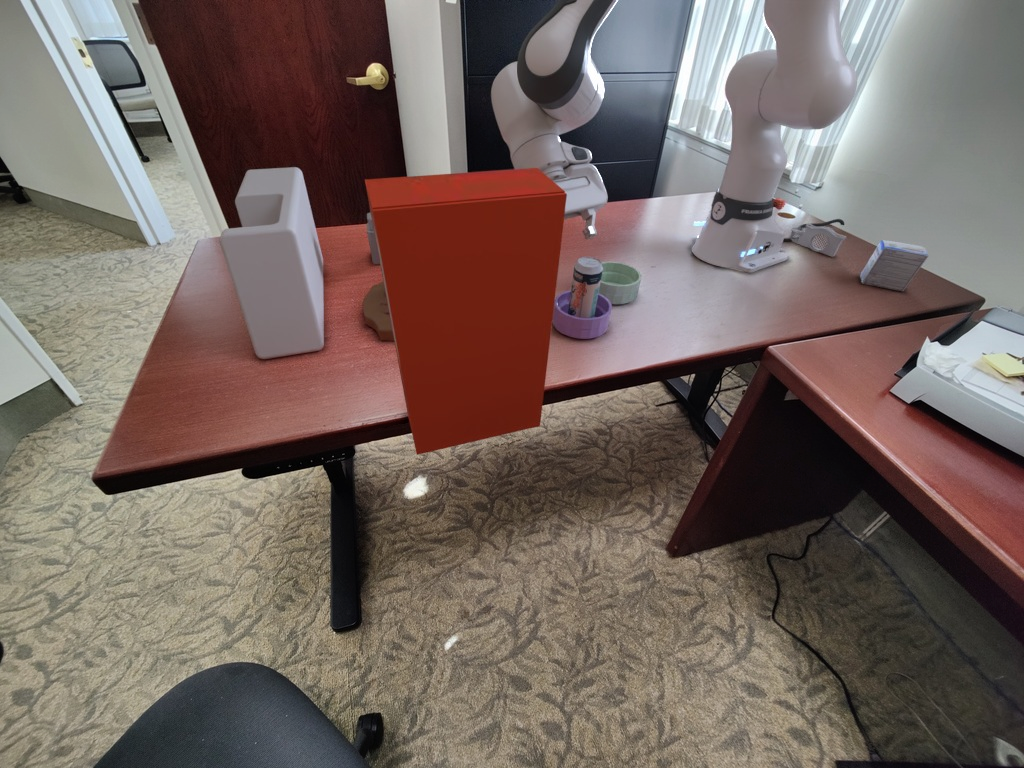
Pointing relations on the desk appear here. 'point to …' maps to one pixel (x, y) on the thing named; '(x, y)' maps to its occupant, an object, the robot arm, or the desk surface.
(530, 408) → the red tall rectangular block
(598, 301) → the lavender bowl
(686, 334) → the desk surface
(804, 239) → the grey grilled flat device
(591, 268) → the white cylindrical canister
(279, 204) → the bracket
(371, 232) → the power adapter
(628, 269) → the celadon bowl
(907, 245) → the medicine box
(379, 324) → the plant
